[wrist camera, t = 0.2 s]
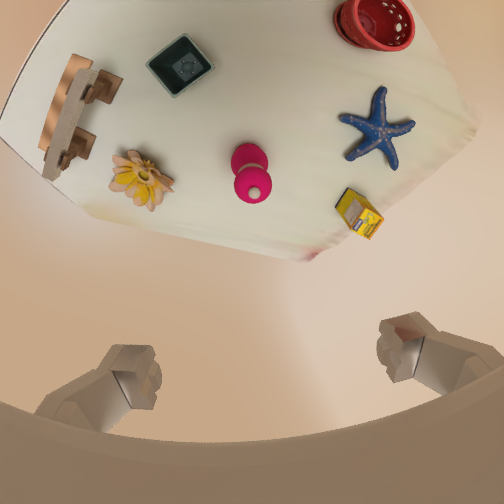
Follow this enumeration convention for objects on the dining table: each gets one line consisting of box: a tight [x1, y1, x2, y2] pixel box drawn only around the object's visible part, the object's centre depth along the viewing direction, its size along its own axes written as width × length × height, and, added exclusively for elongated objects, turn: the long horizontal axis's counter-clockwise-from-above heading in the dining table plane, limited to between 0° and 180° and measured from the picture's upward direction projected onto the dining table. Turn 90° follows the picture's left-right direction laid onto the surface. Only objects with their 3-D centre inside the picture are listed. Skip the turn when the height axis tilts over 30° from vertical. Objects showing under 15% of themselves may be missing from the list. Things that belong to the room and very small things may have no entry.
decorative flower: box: [108, 150, 174, 212], centre depth 53 cm, size 15×11×10 cm
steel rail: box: [42, 68, 99, 182], centre depth 38 cm, size 22×3×3 cm, turn 146°
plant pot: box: [335, 0, 415, 51], centre depth 34 cm, size 13×13×12 cm
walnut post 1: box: [65, 70, 123, 104], centre depth 39 cm, size 6×6×12 cm
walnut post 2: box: [44, 126, 96, 171], centre depth 45 cm, size 6×6×12 cm
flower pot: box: [146, 33, 215, 98], centre depth 40 cm, size 9×9×9 cm
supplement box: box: [335, 188, 384, 240], centre depth 59 cm, size 6×6×11 cm
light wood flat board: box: [38, 54, 93, 152], centre depth 44 cm, size 24×6×1 cm, turn 146°
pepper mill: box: [231, 144, 272, 204], centre depth 48 cm, size 7×7×20 cm
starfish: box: [340, 87, 416, 171], centre depth 50 cm, size 19×19×5 cm
